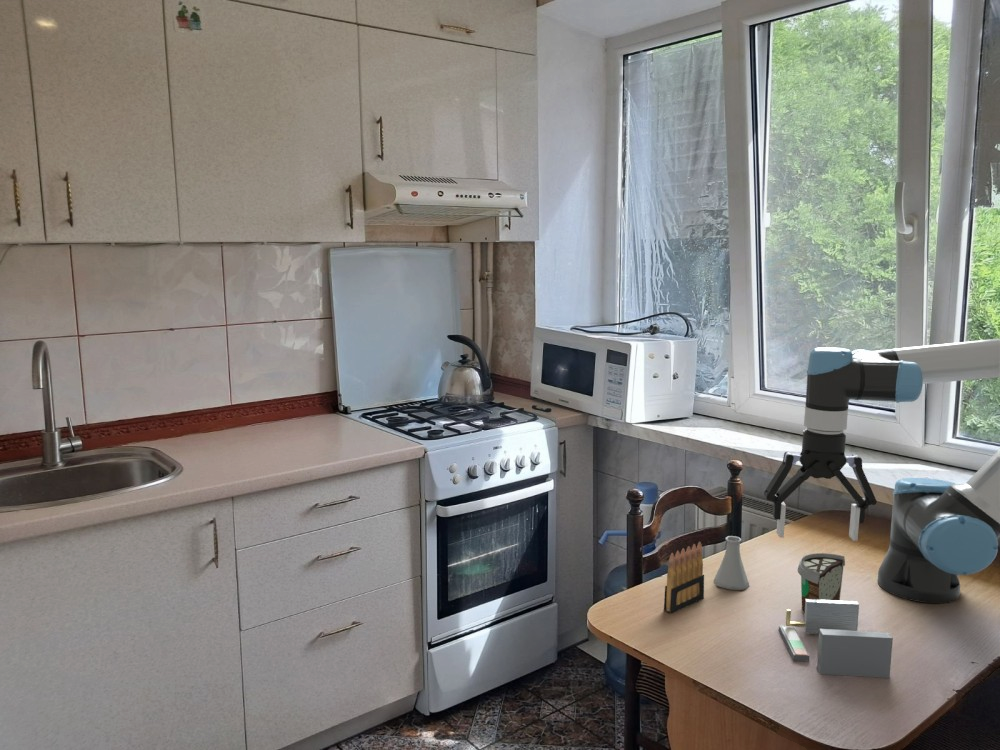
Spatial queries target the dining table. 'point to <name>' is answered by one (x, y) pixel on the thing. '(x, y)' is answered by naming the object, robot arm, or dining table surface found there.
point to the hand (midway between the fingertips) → (816, 537)
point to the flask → (732, 567)
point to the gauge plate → (827, 615)
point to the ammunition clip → (684, 579)
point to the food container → (821, 576)
